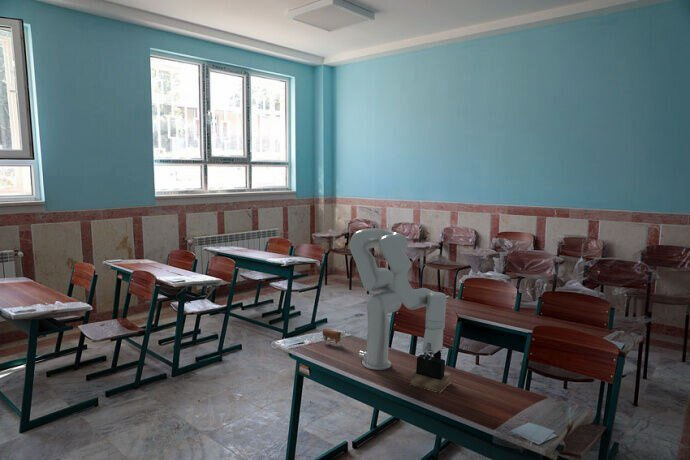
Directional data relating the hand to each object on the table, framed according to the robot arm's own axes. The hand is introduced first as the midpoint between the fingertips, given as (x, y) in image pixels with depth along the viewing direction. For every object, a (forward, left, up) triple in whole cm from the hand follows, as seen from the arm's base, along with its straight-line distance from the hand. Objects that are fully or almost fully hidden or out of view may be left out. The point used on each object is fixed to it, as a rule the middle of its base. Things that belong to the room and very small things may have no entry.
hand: (432, 365), depth 195 cm
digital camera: (0, -1, -4) cm, 4 cm away
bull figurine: (-55, +13, -8) cm, 57 cm away
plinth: (0, 0, -8) cm, 8 cm away
